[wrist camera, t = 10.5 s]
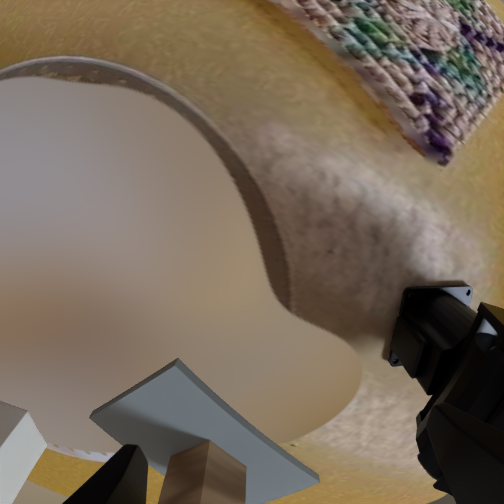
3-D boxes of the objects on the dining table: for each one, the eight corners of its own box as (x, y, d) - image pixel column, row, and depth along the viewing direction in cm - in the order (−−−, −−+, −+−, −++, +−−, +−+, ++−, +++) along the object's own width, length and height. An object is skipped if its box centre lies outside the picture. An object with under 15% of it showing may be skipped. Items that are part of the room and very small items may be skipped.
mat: (178, 357, 22) (174, 365, 21) (318, 475, 26) (320, 482, 25) (93, 410, 24) (89, 417, 23) (230, 506, 28) (230, 512, 27)
